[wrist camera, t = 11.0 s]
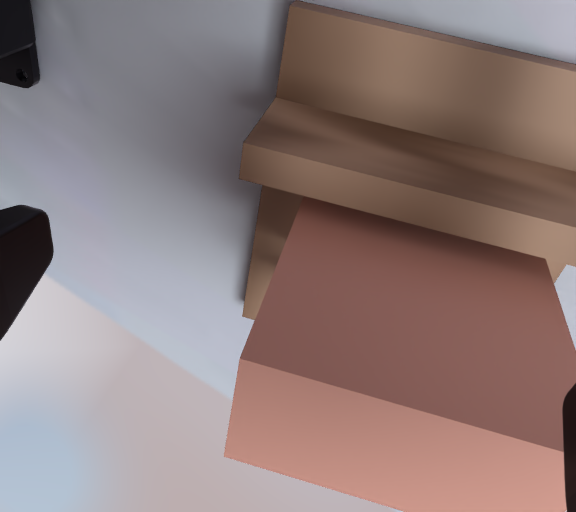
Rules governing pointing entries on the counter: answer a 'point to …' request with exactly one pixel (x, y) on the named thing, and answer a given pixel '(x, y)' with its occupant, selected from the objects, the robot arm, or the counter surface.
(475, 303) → the pink rectangular block
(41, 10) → the counter surface
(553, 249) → the book rack
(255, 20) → the counter surface
